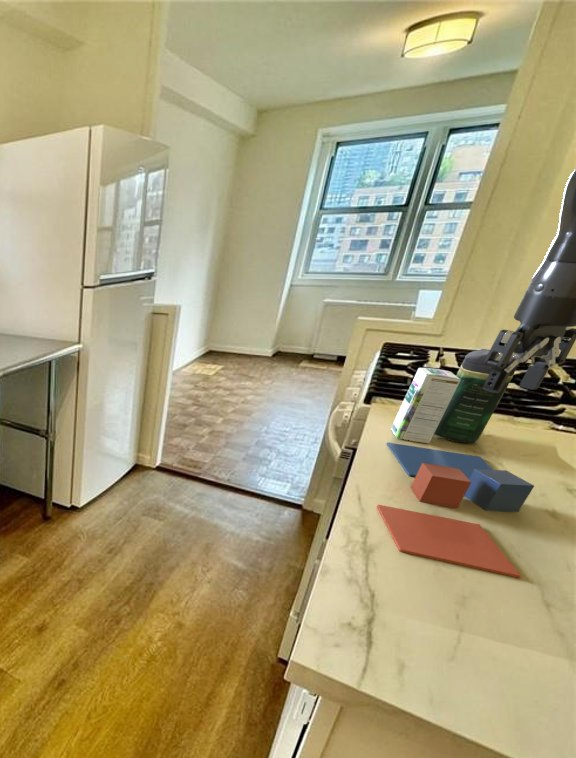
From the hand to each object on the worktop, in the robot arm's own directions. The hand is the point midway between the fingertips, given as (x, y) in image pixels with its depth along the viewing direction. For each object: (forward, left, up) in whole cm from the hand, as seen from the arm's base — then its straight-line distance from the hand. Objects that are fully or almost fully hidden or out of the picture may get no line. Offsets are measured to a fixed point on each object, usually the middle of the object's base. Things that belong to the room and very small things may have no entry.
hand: (509, 389), depth 83 cm
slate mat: (+3, -1, -16) cm, 16 cm away
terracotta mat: (+12, +28, -16) cm, 35 cm away
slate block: (+1, +12, -16) cm, 20 cm away
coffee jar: (-4, -20, -16) cm, 26 cm away
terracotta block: (+9, +14, -16) cm, 23 cm away
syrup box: (+5, -15, -16) cm, 23 cm away
